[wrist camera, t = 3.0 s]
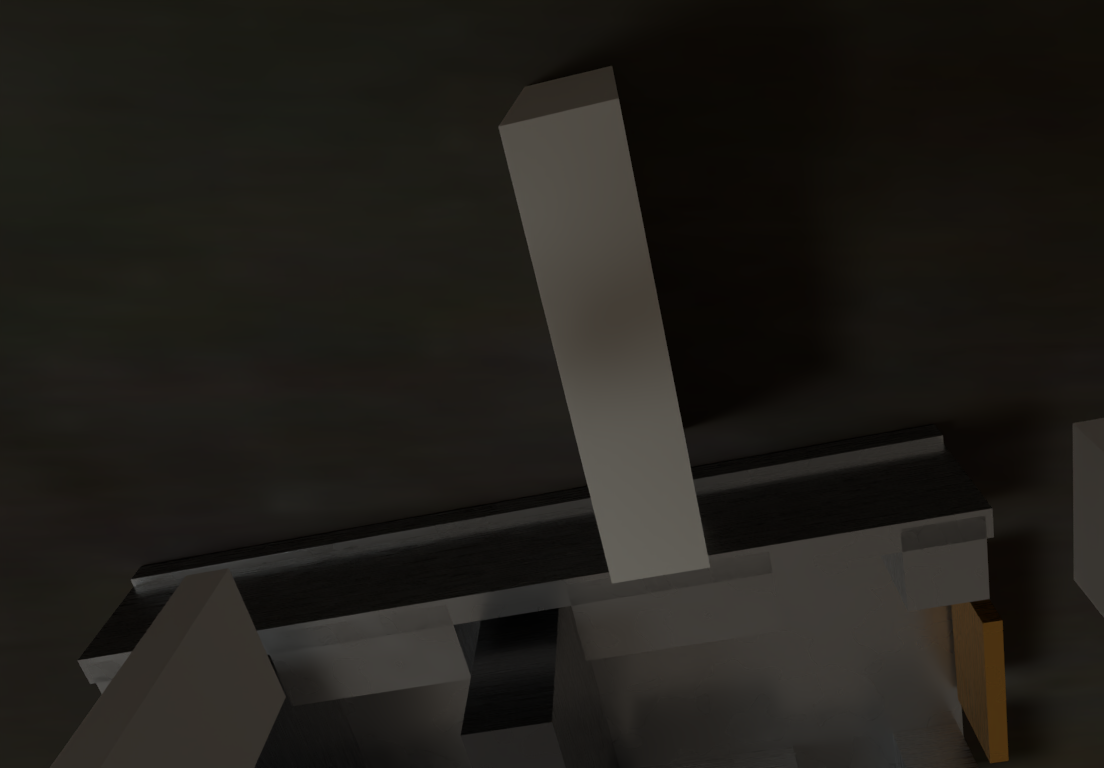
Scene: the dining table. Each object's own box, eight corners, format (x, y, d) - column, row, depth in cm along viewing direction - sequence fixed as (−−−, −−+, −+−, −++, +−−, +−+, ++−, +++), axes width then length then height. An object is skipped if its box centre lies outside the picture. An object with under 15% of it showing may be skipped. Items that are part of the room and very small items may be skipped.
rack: (285, 860, 40) (208, 1080, 32) (140, 566, 34) (0, 747, 26) (969, 771, 36) (1076, 995, 28) (946, 422, 30) (1074, 582, 22)
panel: (608, 442, 31) (611, 583, 24) (525, 86, 27) (498, 126, 19) (682, 428, 31) (710, 567, 24) (612, 65, 26) (619, 98, 19)
